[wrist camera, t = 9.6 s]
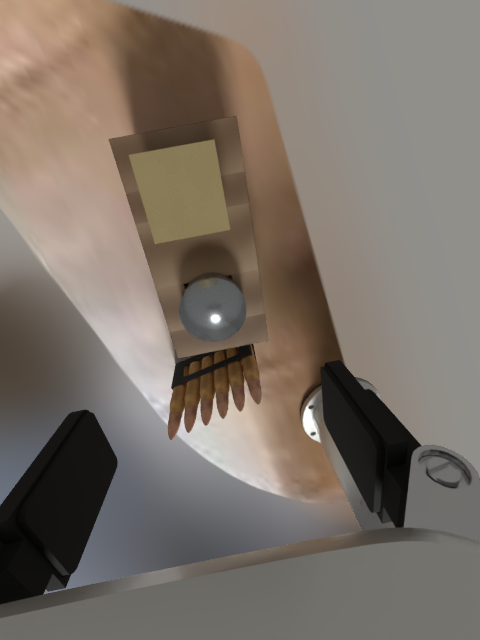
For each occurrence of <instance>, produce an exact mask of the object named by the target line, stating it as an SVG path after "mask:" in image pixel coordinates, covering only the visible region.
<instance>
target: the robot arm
mask: <svg viewBox="0 0 480 640" xmlns="http://www.w3.org/2000/svg"><path fill="white" fill-rule="evenodd" d="M301 423H302V426H303V428H304V430H305V432H306V433H307V435H308V436H310V437H311V438H312V439H314V440H316V441H317V442H321V443H322V445H323V448H324V450H325V452H326V454H327V456H328V458H329V460H330V463H331V465H332V467H333V469H334V471H335V473H336V476H337V478H338V480H339V482H340V484H341V486H342V489H343V491H344V493H345V495H346V497H347V499H348V502H349V504H350V506H351V508H352V510H353V512H354V514H355V517H356V519H357V521H358V523H359V525H360V527H361V529H362V531H360V532H354V533H349V534H343V535H337V536H332V537H326V538H321V539H315V540H309V541H304V542H299V543H294V544H289V545H284V546H279V547H274V548H268V549H264V550H258V551H253V552H249V553H243V554H238V555H233V556H228V557H223V558H218V559H213V560H208V561H203V562H198V563H193V564H188V565H183V566H178V567H173V568H169V569H164V570H159V571H154V572H149V573H144V574H139V575H134V576H130V577H125V578H120V579H115V580H111V581H105V582H101V583H96V584H91V585H86V586H82V587H77V588H72V589H67V590H62V591H58V592H53V593H48V594H44V592H45V589H46V590H47V591H53V590H58V589H63V588H66V586H67V583H68V581H69V578H70V576H71V574H72V573H73V572H75V570H76V569H77V567H78V564H79V562H80V559H81V557H82V554H83V552H84V549H85V547H86V544H87V542H88V539H89V536H90V534H91V532H92V529H93V527H94V524H95V521H96V519H97V516H98V514H99V511H100V509H101V506H102V504H103V501H104V499H105V496H106V494H107V491H108V489H109V486H110V484H111V481H112V479H113V476H114V473H115V471H116V468H117V458H116V456H115V454H114V452H113V450H112V448H111V446H110V444H109V442H108V440H107V438H106V436H105V434H104V433H103V431H102V429H101V427H100V425H99V423H98V421H97V419H96V417H95V415H94V414H93V413H91V412H89V411H88V410H81V411H76V412H72V413H70V414H69V415H68V416H67V417H66V418H65V420H64V421H63V422H62V424H61V425H60V426H59V428H58V429H57V431H56V432H55V433H54V434H53V436H52V437H51V438H50V440H49V441H48V442H47V444H46V445H45V447H44V448H43V449H42V451H41V452H40V453H39V455H38V456H37V457H36V459H35V460H34V461H33V463H32V464H31V465H30V467H29V468H28V469H27V471H26V472H25V473H24V475H23V476H22V477H21V479H20V480H19V481H18V483H17V484H16V485H15V487H14V488H13V489H12V491H11V492H10V493H9V495H8V496H7V497H6V499H5V500H4V501H3V503H2V504H1V506H0V640H480V478H479V475H478V472H477V471H476V470H475V468H474V467H473V466H472V464H471V463H469V462H468V461H467V460H466V459H465V458H464V457H462V456H461V455H459V454H457V453H456V452H454V451H452V450H449V449H447V448H444V447H441V446H436V445H424V446H421V445H420V444H419V443H418V441H417V440H416V439H415V438H414V437H413V436H412V435H411V433H410V432H409V431H408V430H407V429H406V428H405V427H404V425H403V424H402V423H401V422H400V421H399V420H398V419H397V418H396V416H395V415H394V414H393V413H392V412H391V411H390V410H389V409H388V407H387V406H386V405H385V404H384V403H383V402H382V399H381V396H380V394H379V392H378V391H377V390H376V389H375V387H374V386H373V385H372V384H371V383H369V382H368V381H366V380H363V379H361V378H356V377H354V376H353V375H352V374H351V373H350V371H349V370H348V369H347V368H346V367H345V365H344V364H343V363H342V362H341V361H340V360H337V361H332V362H327V363H325V366H324V367H321V385H320V386H319V387H318V388H316V389H315V390H314V391H313V392H312V393H311V394H310V395H309V396H308V397H307V399H306V400H305V402H304V404H303V406H302V409H301ZM43 594H44V595H43Z"/></svg>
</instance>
